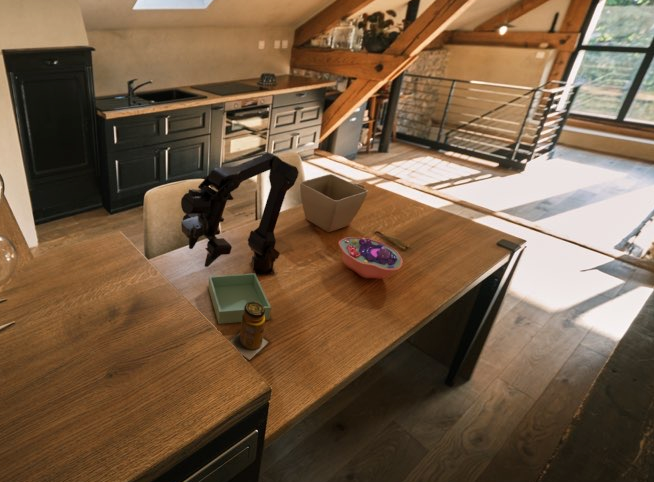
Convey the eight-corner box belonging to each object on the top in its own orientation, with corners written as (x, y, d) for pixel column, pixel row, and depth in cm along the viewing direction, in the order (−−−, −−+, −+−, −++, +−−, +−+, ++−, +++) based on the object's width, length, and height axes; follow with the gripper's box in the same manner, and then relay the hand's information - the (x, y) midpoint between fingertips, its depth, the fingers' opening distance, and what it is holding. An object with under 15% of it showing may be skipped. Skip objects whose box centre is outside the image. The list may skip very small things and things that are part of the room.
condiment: (268, 342, 104) (273, 308, 99) (249, 360, 99) (253, 325, 94) (247, 326, 109) (250, 294, 104) (227, 343, 104) (230, 309, 99)
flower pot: (293, 216, 165) (298, 181, 158) (324, 206, 173) (331, 173, 166) (328, 239, 149) (335, 201, 143) (360, 227, 158) (369, 190, 151)
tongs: (376, 231, 155) (377, 227, 154) (409, 248, 145) (410, 244, 144) (370, 235, 152) (372, 230, 152) (403, 252, 143) (405, 248, 142)
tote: (253, 284, 125) (255, 273, 123) (269, 319, 111) (271, 307, 110) (208, 287, 124) (208, 276, 122) (218, 324, 110) (219, 311, 108)
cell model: (347, 248, 144) (353, 222, 139) (404, 274, 131) (413, 246, 126) (325, 268, 133) (331, 241, 129) (386, 298, 120) (394, 269, 115)
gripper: (174, 196, 113) (161, 241, 118) (207, 229, 98) (191, 279, 103) (204, 197, 119) (191, 240, 124) (240, 228, 104) (223, 275, 109)
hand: (198, 257), depth 115 cm, fingers open, 9 cm apart
